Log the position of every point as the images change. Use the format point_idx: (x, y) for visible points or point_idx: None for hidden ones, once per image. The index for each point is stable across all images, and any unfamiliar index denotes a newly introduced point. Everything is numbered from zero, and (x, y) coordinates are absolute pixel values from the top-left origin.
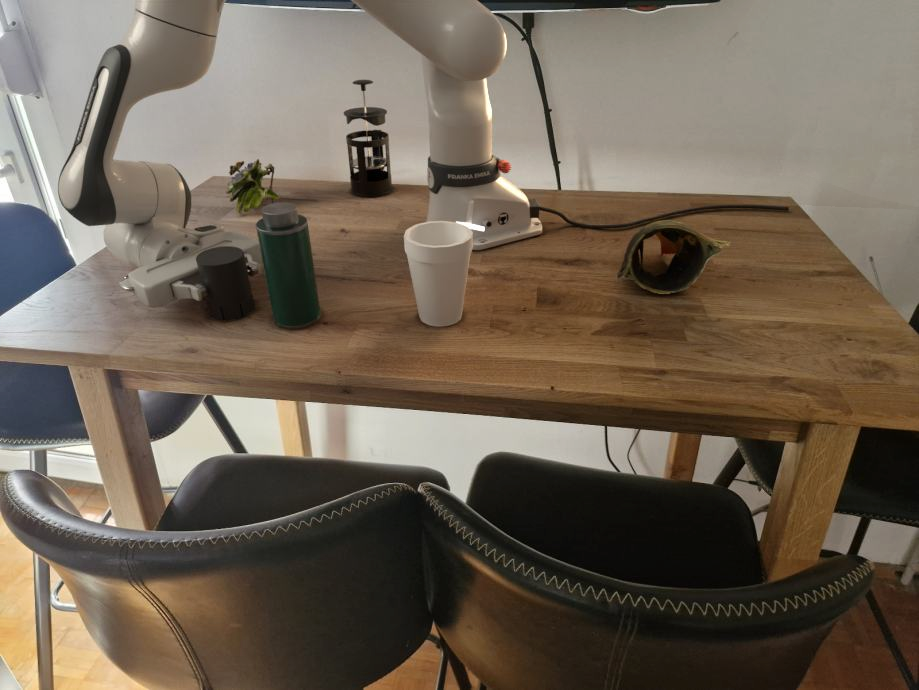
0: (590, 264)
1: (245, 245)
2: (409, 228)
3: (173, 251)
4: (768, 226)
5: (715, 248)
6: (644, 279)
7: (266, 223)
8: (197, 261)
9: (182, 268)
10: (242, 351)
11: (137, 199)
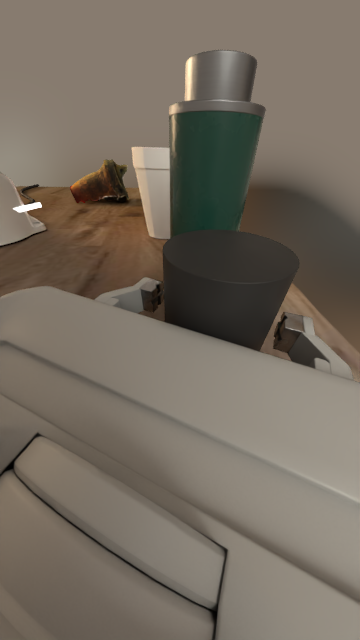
0: (87, 208)
1: (61, 297)
2: (153, 147)
3: (177, 552)
4: (54, 189)
5: (124, 168)
6: (115, 199)
7: (249, 96)
8: (296, 268)
9: (277, 383)
10: (288, 306)
11: None
